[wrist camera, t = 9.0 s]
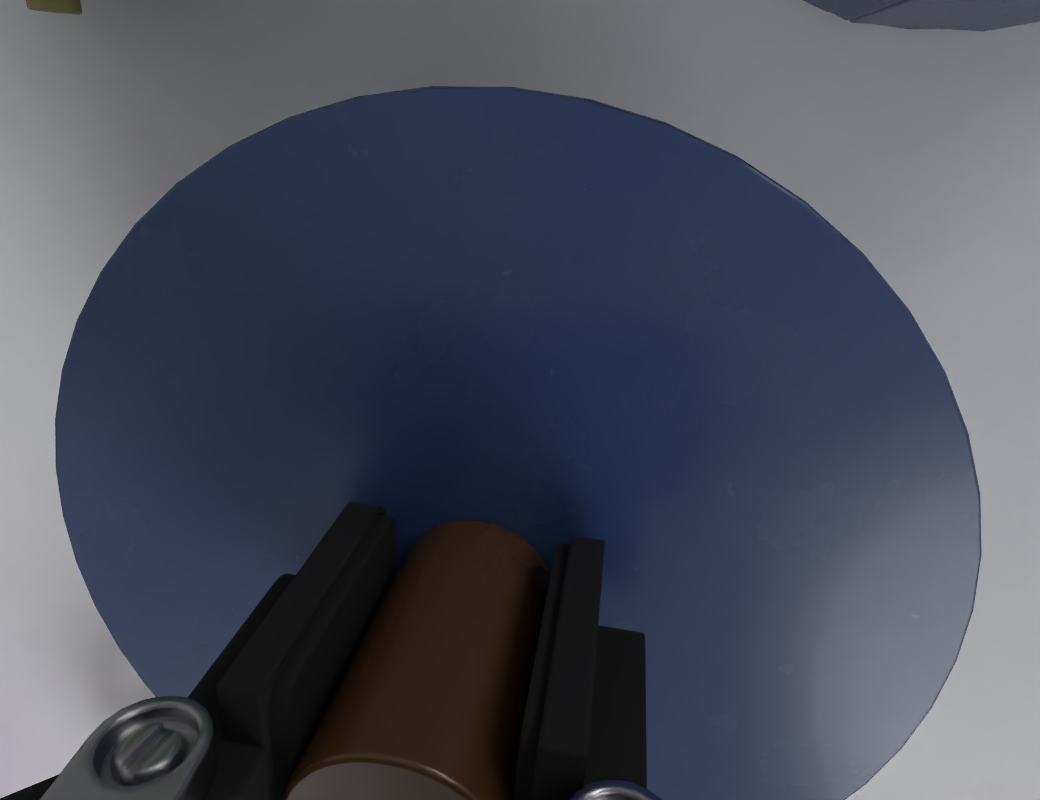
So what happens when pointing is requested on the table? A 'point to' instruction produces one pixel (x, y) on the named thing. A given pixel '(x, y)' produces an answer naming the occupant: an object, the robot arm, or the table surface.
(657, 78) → the table surface
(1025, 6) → the pot
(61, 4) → the squash
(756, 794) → the pot lid
